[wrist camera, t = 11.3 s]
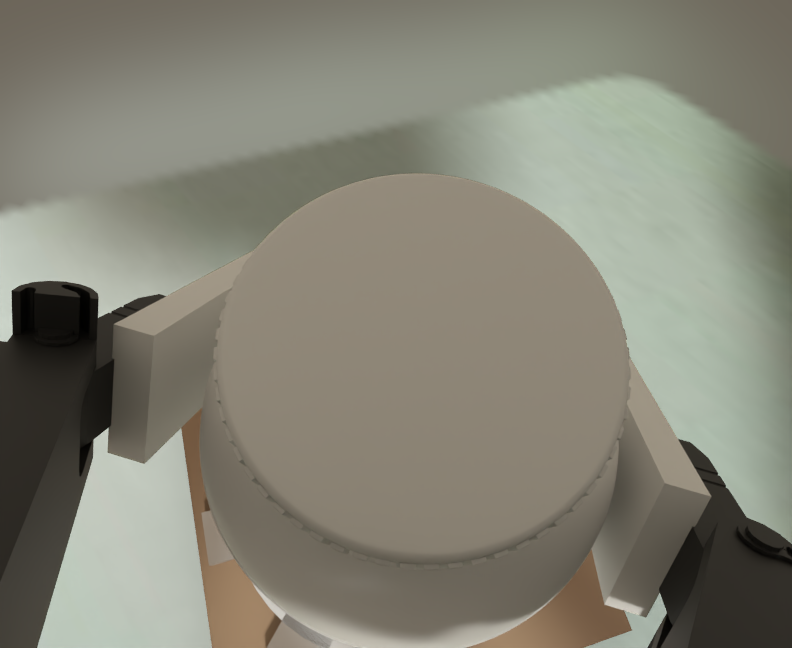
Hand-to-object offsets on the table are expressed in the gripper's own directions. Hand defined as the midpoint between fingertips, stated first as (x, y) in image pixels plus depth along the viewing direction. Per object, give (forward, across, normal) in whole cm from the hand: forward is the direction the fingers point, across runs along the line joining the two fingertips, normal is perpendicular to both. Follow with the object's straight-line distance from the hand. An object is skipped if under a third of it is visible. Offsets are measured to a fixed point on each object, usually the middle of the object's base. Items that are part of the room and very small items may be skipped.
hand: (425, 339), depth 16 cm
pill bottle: (+3, 0, -7) cm, 8 cm away
